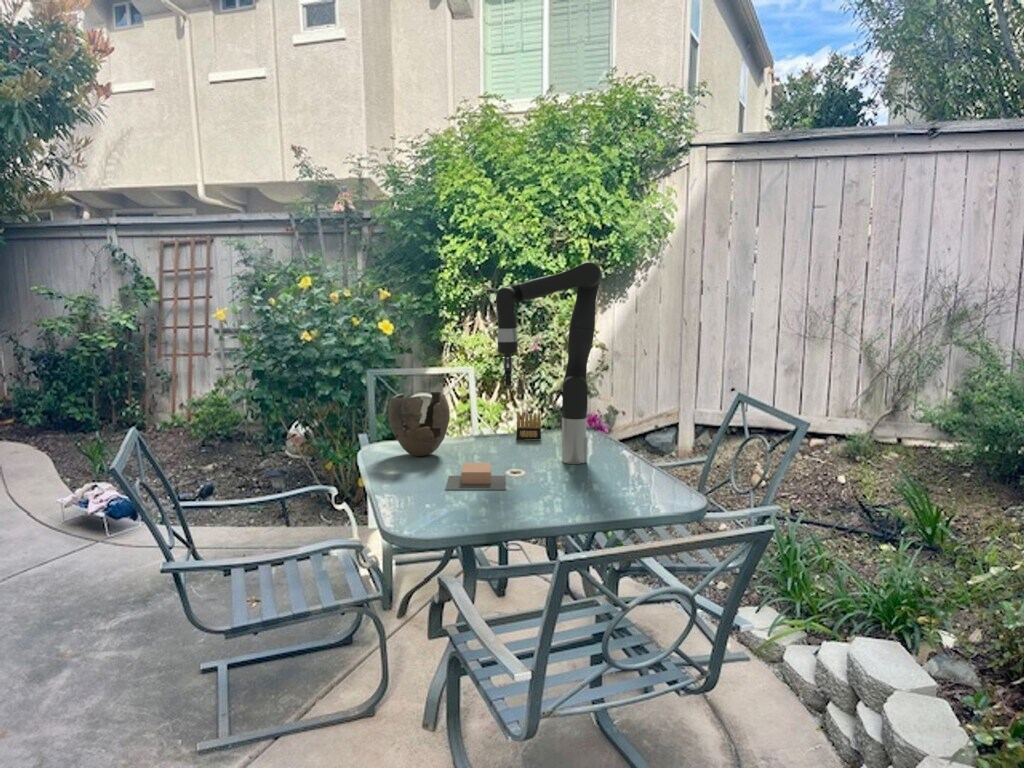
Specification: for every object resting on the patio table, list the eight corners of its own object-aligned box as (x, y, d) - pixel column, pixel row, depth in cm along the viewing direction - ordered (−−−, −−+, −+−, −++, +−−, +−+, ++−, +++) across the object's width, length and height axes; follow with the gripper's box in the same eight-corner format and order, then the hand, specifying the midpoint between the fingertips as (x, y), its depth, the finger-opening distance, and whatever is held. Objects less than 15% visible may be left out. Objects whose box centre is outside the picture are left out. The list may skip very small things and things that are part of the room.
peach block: (491, 462, 251) (490, 472, 239) (491, 474, 252) (490, 483, 240) (463, 462, 251) (461, 472, 239) (463, 474, 252) (461, 484, 240)
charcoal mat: (505, 476, 250) (505, 475, 250) (505, 490, 234) (505, 489, 234) (448, 476, 250) (448, 475, 249) (445, 490, 234) (445, 489, 234)
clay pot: (439, 464, 265) (438, 398, 261) (379, 460, 270) (377, 396, 266) (457, 448, 288) (456, 388, 284) (401, 445, 293) (399, 386, 289)
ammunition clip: (541, 439, 306) (541, 411, 304) (541, 440, 304) (541, 412, 302) (516, 438, 306) (516, 411, 304) (516, 439, 304) (516, 412, 303)
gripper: (517, 341, 261) (518, 388, 263) (517, 338, 274) (518, 382, 277) (497, 342, 261) (498, 388, 264) (498, 338, 274) (498, 383, 277)
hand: (508, 385), depth 270 cm, fingers closed
